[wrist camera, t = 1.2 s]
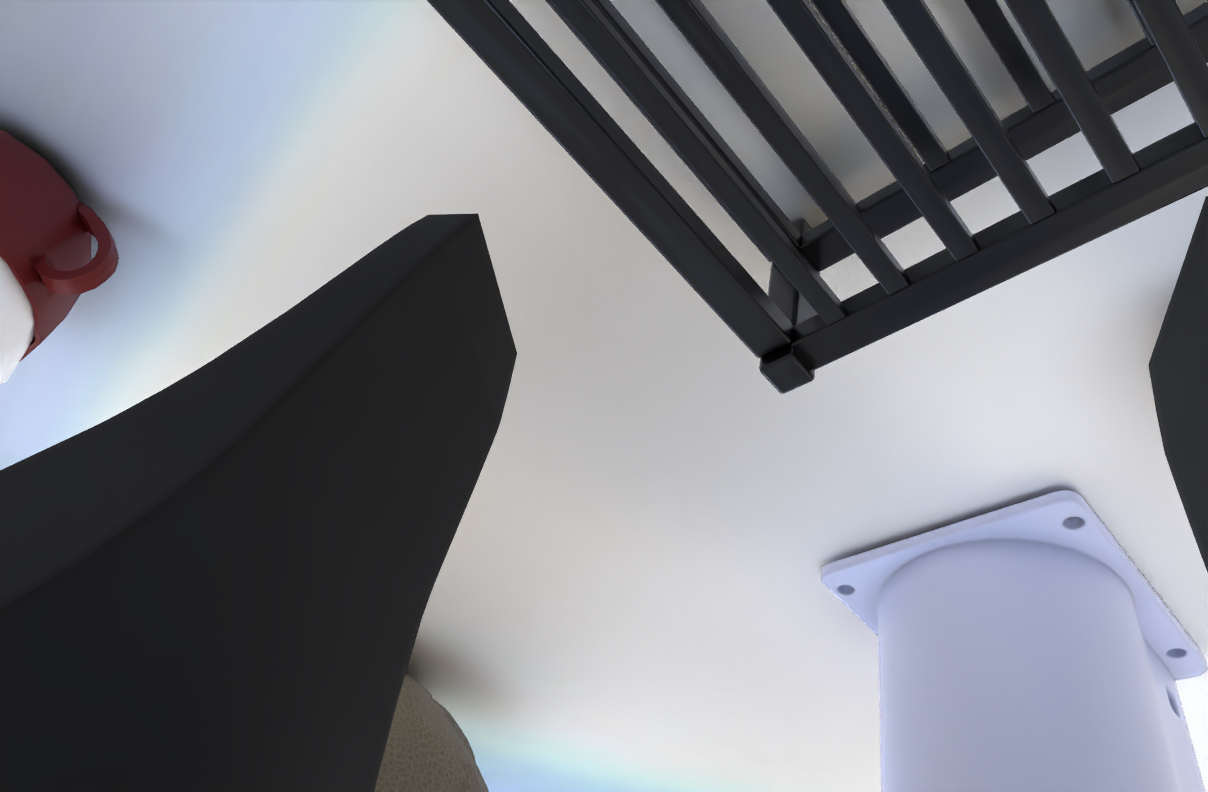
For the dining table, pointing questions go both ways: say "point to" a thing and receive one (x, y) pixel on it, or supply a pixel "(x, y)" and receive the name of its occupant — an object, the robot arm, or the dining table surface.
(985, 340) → the dining table surface
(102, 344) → the dining table surface
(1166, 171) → the shoe rack
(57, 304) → the cocoa
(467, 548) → the dining table surface
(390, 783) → the cantaloupe
